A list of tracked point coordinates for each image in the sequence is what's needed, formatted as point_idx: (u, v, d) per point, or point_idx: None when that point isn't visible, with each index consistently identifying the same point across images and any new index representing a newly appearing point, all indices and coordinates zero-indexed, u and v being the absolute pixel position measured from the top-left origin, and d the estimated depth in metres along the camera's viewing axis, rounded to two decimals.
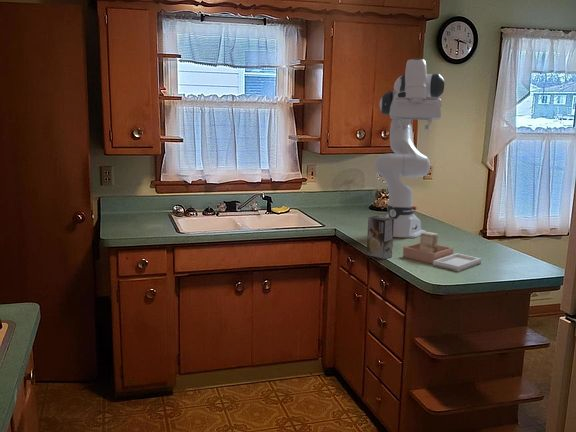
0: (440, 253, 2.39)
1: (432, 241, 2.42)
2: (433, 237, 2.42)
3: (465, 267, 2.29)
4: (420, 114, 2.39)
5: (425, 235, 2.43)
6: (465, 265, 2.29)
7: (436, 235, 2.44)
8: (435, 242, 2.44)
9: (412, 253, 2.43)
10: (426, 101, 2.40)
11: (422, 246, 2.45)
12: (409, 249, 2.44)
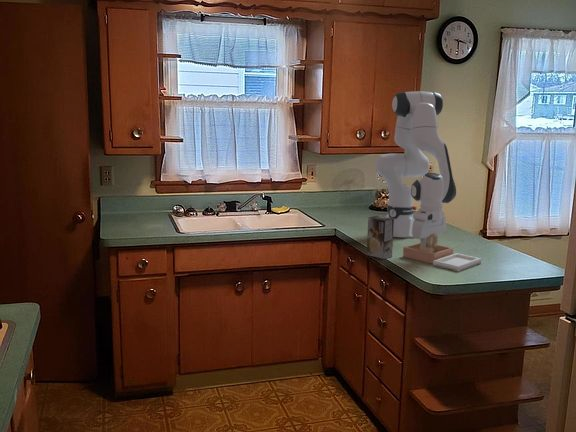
0: (440, 253, 2.39)
1: (432, 241, 2.42)
2: (433, 236, 2.42)
3: (465, 267, 2.29)
4: (435, 232, 2.44)
5: None
6: (465, 265, 2.29)
7: (436, 235, 2.44)
8: (435, 242, 2.44)
9: (412, 253, 2.43)
10: (439, 219, 2.45)
11: None
12: (409, 249, 2.44)
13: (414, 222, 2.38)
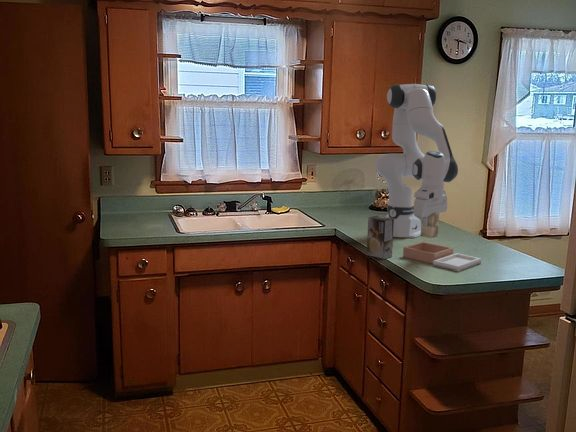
0: (440, 253, 2.39)
1: (433, 220, 2.41)
2: (434, 215, 2.41)
3: (465, 267, 2.29)
4: (437, 211, 2.43)
5: None
6: (465, 265, 2.29)
7: (437, 214, 2.42)
8: (436, 221, 2.42)
9: (412, 253, 2.43)
10: (441, 198, 2.44)
11: None
12: (409, 249, 2.44)
13: (415, 201, 2.37)
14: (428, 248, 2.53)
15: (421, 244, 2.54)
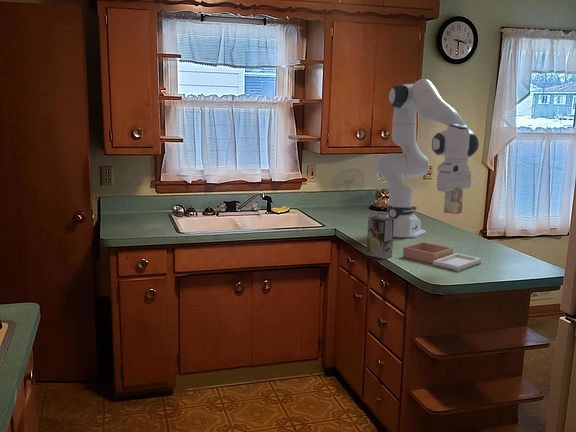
0: (440, 253, 2.39)
1: (457, 195, 2.30)
2: (458, 190, 2.30)
3: (465, 267, 2.29)
4: (461, 186, 2.33)
5: None
6: (465, 265, 2.29)
7: (461, 189, 2.32)
8: (460, 197, 2.32)
9: (412, 253, 2.43)
10: (465, 172, 2.34)
11: None
12: (409, 249, 2.44)
13: (439, 174, 2.27)
14: (428, 248, 2.53)
15: (421, 244, 2.54)
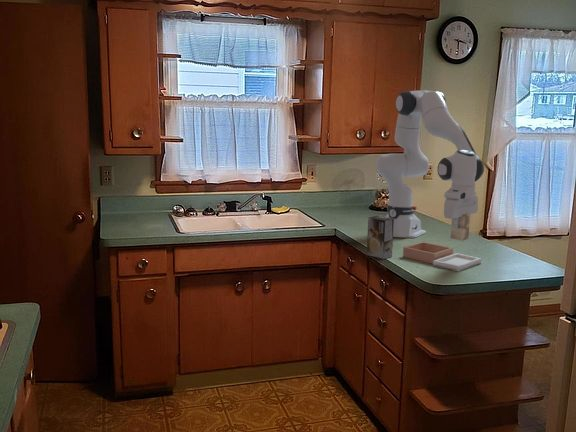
0: (440, 253, 2.39)
1: (464, 222, 2.30)
2: (465, 217, 2.30)
3: (465, 267, 2.29)
4: (467, 212, 2.32)
5: None
6: (465, 265, 2.29)
7: (468, 215, 2.31)
8: (467, 223, 2.31)
9: (412, 253, 2.43)
10: (472, 198, 2.33)
11: None
12: (409, 249, 2.44)
13: (446, 201, 2.26)
14: (428, 248, 2.53)
15: (421, 244, 2.54)
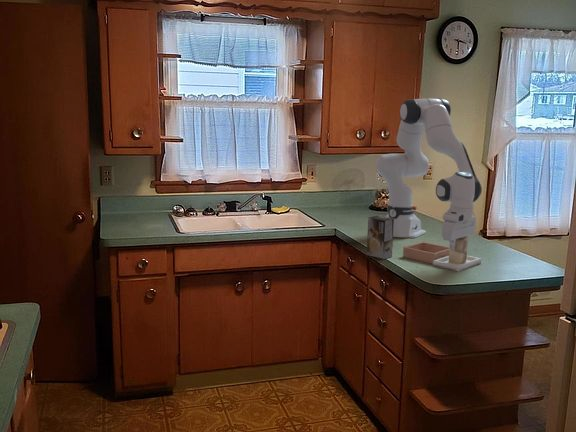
0: (440, 253, 2.39)
1: (462, 246, 2.32)
2: (463, 241, 2.32)
3: (465, 267, 2.29)
4: (466, 233, 2.34)
5: None
6: (465, 265, 2.29)
7: (466, 239, 2.33)
8: (465, 247, 2.33)
9: (412, 253, 2.43)
10: (470, 220, 2.34)
11: (451, 251, 2.34)
12: (409, 249, 2.44)
13: (444, 223, 2.27)
14: (428, 248, 2.53)
15: (421, 244, 2.54)
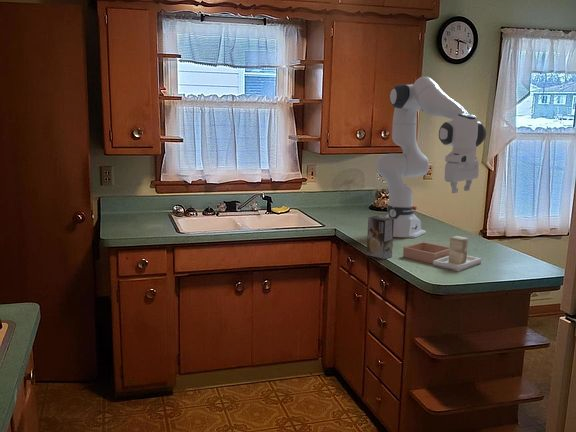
0: (440, 253, 2.39)
1: (462, 246, 2.32)
2: (463, 241, 2.32)
3: (465, 267, 2.29)
4: (468, 177, 2.30)
5: (455, 239, 2.33)
6: (465, 265, 2.29)
7: (466, 239, 2.33)
8: (465, 247, 2.33)
9: (412, 253, 2.43)
10: (472, 163, 2.31)
11: (451, 251, 2.34)
12: (409, 249, 2.44)
13: (447, 165, 2.24)
14: (428, 248, 2.53)
15: (421, 244, 2.54)
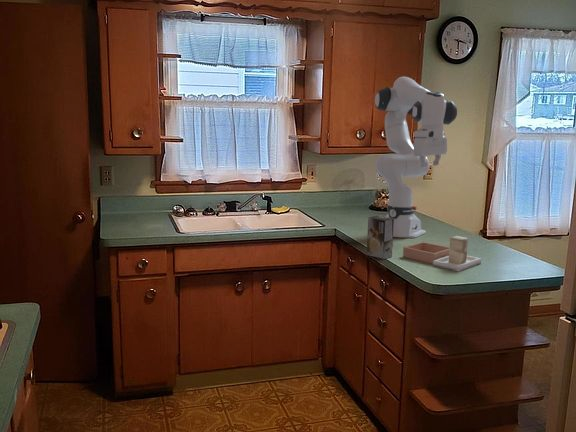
0: (440, 253, 2.39)
1: (462, 246, 2.32)
2: (463, 241, 2.32)
3: (465, 267, 2.29)
4: (436, 152, 2.44)
5: (455, 239, 2.33)
6: (465, 265, 2.29)
7: (466, 239, 2.33)
8: (465, 247, 2.33)
9: (412, 253, 2.43)
10: (440, 139, 2.45)
11: (451, 251, 2.34)
12: (409, 249, 2.44)
13: (415, 140, 2.38)
14: (428, 248, 2.53)
15: (421, 244, 2.54)
